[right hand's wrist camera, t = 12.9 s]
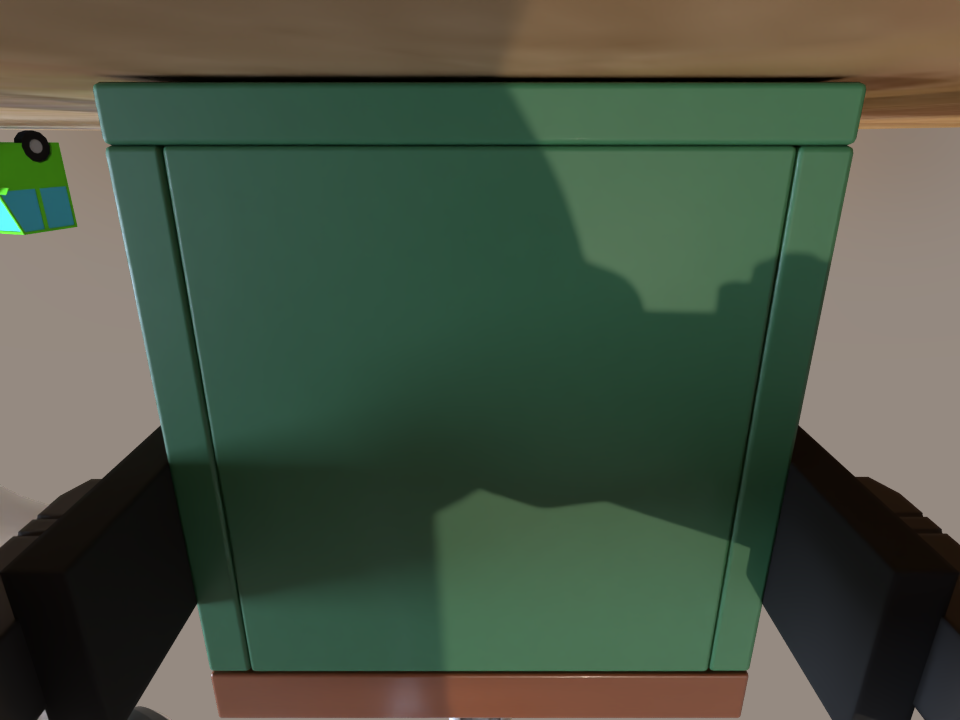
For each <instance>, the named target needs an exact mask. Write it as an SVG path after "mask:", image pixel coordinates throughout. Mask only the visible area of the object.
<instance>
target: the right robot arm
mask: <svg viewBox="0 0 960 720" xmlns="http://www.w3.org/2000/svg"><path fill="white" fill-rule="evenodd" d="M762 604H763V606H764V607H765V609H766V611H767V612H768V614H769V616H770V617H771V619H772V621H773V622H774V624H775V626H776V627H777V629H778V631H779V632H780V634H781V636H782V637H783V639H784V640H785V642H786V644H787V646H788V647H789V649H790V651H791V652H792V654H793V655H794V657H795V659H796V661H797V662H798V664H799V665H800V667H801V669H802V670H803V672H804V674H805V675H806V677H807V679H808V680H809V682H810V684H811V685H812V687H813V689H814V690H815V692H816V694H817V695H818V697H819V699H820V700H821V702H822V704H823V705H824V707H825V709H826V710H827V712H828V714H829V715H830V717H831V719H832V720H911V717H912V714H913V711H914V708H916V709H917V710H918V712H919V713H920V714H921V716H922V717H923V718H924V720H960V545H959V544H958V543H957V542H956V541H955V540H954V539H952V538H951V537H950V536H949V535H948V534H943V533H942V529H941V528H939V527H938V526H937V525H936V524H935V523H934V522H932V521H931V520H930V519H929V518H928V517H923V515H922V512H921V511H920V510H918V509H917V508H916V507H915V506H914V505H913V504H911V503H910V502H909V501H908V500H907V499H906V498H904V497H903V496H902V495H901V494H900V493H898V492H896V491H894V490H892V489H890V488H888V487H886V486H885V485H883V484H881V483H879V482H877V481H875V480H873V479H871V478H869V477H855V476H853V475H852V474H851V473H850V472H849V471H848V470H847V469H846V468H845V467H844V466H842V465H841V464H840V463H839V462H838V461H837V460H836V459H835V458H834V457H833V456H832V455H830V454H829V453H828V452H827V451H826V450H825V449H824V448H823V447H822V446H821V445H819V444H818V443H817V442H816V441H815V440H814V439H813V438H812V437H811V436H810V435H809V434H807V433H806V432H805V431H804V430H803V429H802V428H801V427H800V426H799V425H798V429H797V434H796V439H795V444H794V449H793V454H792V459H791V464H790V469H789V474H788V479H787V484H786V489H785V493H784V498H783V503H782V508H781V513H780V518H779V523H778V528H777V533H776V538H775V543H774V548H773V553H772V558H771V563H770V568H769V573H768V578H767V583H766V588H765V593H764V597H763V602H762ZM196 605H197V601H196V596H195V591H194V586H193V581H192V576H191V571H190V566H189V561H188V557H187V552H186V547H185V542H184V537H183V532H182V527H181V522H180V517H179V512H178V507H177V502H176V497H175V492H174V487H173V483H172V478H171V473H170V468H169V463H168V458H167V453H166V448H165V443H164V438H163V433H162V428H161V426H160V427H158V428H157V429H156V430H155V431H154V432H153V433H152V434H151V435H150V436H149V437H147V438H146V439H145V440H144V441H143V442H142V443H141V444H140V445H139V446H138V447H136V448H135V449H134V450H133V451H132V452H131V453H130V454H129V455H128V456H127V457H126V458H124V459H123V460H122V461H121V462H120V463H119V464H118V465H117V466H116V467H115V468H113V469H112V470H111V471H110V472H109V473H108V474H107V475H106V476H105V477H104V478H103V479H91V480H89V481H87V482H85V483H83V484H81V485H79V486H78V487H76V488H74V489H72V490H70V491H68V492H66V493H64V494H63V495H61V496H59V497H58V498H57V499H56V500H55V501H53V502H52V503H51V504H50V505H49V506H48V507H46V508H45V509H44V510H43V511H42V512H41V513H39V514H38V515H37V519H32V520H31V521H30V522H29V523H28V524H27V525H26V526H24V527H23V528H22V529H21V530H20V531H19V532H18V536H13V537H12V538H10V539H9V540H8V541H7V542H6V543H5V544H3V545H2V546H1V547H0V720H37V719H38V718H39V717H40V715H41V714H42V713H43V711H44V710H45V711H46V714H47V717H48V720H127V719H128V718H129V716H130V714H131V713H132V711H133V709H134V708H135V706H136V704H137V703H138V701H139V699H140V698H141V696H142V694H143V693H144V691H145V689H146V688H147V686H148V684H149V683H150V681H151V679H152V678H153V676H154V674H155V673H156V671H157V669H158V668H159V666H160V664H161V663H162V661H163V659H164V658H165V656H166V654H167V653H168V651H169V649H170V648H171V646H172V644H173V643H174V641H175V639H176V638H177V636H178V634H179V633H180V631H181V629H182V628H183V626H184V624H185V623H186V621H187V620H188V618H189V616H190V615H191V613H192V611H193V609H194V608H195V606H196Z"/></svg>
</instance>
